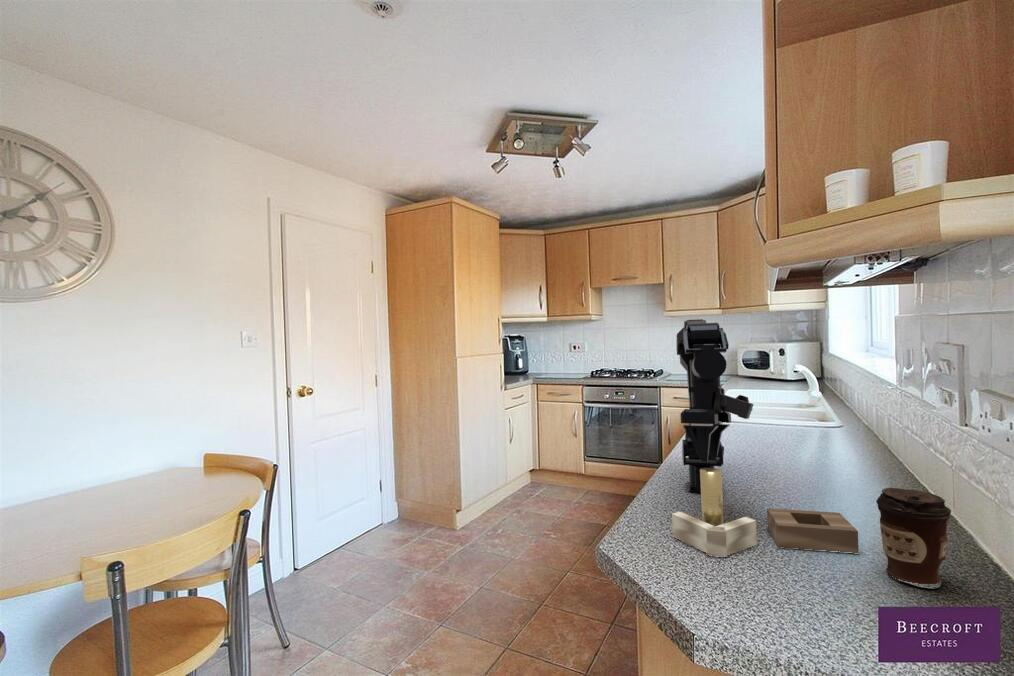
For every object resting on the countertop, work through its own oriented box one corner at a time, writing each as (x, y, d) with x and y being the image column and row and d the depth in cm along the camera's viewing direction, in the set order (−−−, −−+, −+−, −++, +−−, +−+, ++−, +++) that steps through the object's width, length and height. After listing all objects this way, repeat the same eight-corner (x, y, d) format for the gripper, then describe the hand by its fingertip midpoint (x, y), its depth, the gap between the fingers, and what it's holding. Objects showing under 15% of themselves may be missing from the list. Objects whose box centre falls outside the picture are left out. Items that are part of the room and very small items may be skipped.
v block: (672, 534, 90) (671, 510, 90) (755, 542, 85) (754, 517, 85) (673, 552, 83) (672, 527, 83) (763, 562, 78) (762, 535, 78)
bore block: (767, 528, 90) (766, 508, 90) (840, 534, 87) (839, 512, 87) (778, 547, 83) (778, 525, 83) (858, 554, 79) (858, 531, 79)
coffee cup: (923, 599, 66) (920, 508, 66) (864, 571, 74) (861, 489, 74) (966, 588, 68) (964, 499, 68) (904, 561, 76) (902, 482, 76)
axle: (709, 535, 89) (706, 466, 89) (728, 541, 86) (725, 470, 86) (699, 541, 87) (696, 471, 86) (718, 547, 84) (715, 475, 84)
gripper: (741, 378, 86) (746, 467, 83) (754, 384, 101) (759, 458, 99) (678, 380, 92) (681, 462, 90) (699, 385, 107) (703, 455, 105)
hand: (709, 459), depth 96 cm, fingers open, 9 cm apart
